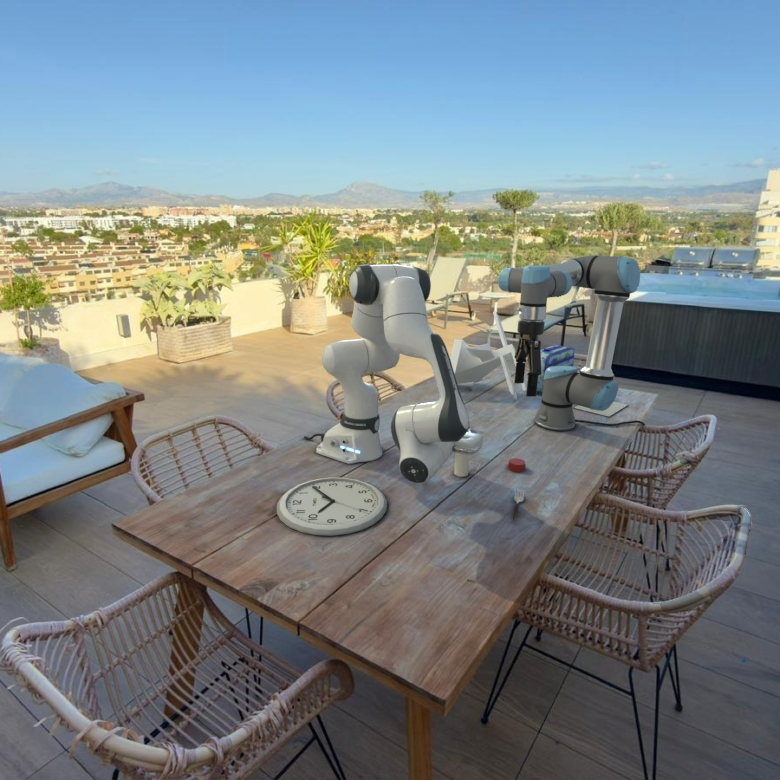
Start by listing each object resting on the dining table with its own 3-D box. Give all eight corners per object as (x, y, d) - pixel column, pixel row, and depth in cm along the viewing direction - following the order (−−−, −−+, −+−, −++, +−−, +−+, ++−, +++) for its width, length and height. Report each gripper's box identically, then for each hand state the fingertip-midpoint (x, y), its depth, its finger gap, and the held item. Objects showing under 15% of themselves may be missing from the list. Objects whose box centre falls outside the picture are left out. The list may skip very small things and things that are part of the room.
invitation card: (608, 416, 214) (573, 407, 224) (608, 416, 214) (573, 408, 224) (628, 404, 229) (594, 396, 238) (628, 405, 229) (594, 397, 238)
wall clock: (392, 527, 129) (268, 531, 127) (391, 533, 130) (269, 537, 127) (383, 473, 158) (282, 475, 155) (383, 478, 158) (282, 480, 156)
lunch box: (546, 398, 236) (551, 353, 229) (525, 393, 243) (529, 349, 237) (573, 387, 253) (579, 344, 247) (553, 382, 260) (558, 341, 254)
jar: (462, 478, 160) (465, 429, 155) (451, 473, 163) (453, 425, 158) (471, 473, 163) (474, 425, 158) (459, 469, 166) (462, 421, 161)
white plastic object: (461, 429, 252) (437, 405, 227) (444, 352, 274) (420, 323, 250) (535, 404, 240) (518, 377, 215) (510, 326, 262) (492, 293, 237)
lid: (524, 466, 168) (525, 459, 168) (524, 473, 164) (525, 466, 163) (508, 464, 170) (509, 457, 169) (507, 471, 165) (508, 464, 164)
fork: (507, 521, 136) (508, 514, 136) (515, 493, 151) (516, 487, 150) (517, 523, 135) (518, 516, 135) (524, 495, 150) (525, 488, 149)
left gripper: (476, 442, 129) (489, 423, 141) (400, 428, 137) (418, 411, 149) (474, 465, 131) (488, 445, 143) (399, 450, 138) (418, 432, 151)
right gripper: (508, 313, 164) (503, 377, 171) (530, 327, 141) (523, 402, 147) (532, 313, 165) (525, 378, 171) (558, 328, 141) (549, 402, 147)
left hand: (452, 428), depth 146 cm, fingers open, 8 cm apart
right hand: (524, 389), depth 159 cm, fingers open, 13 cm apart
